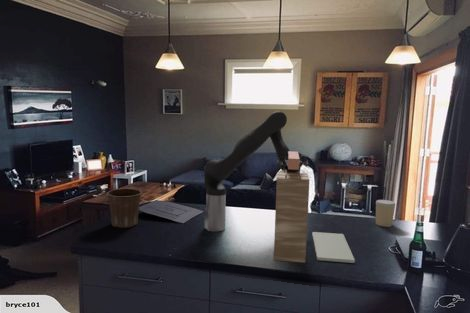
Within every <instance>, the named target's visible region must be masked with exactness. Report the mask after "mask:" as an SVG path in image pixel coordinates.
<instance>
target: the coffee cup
mask: <svg viewBox="0 0 470 313" xmlns="http://www.w3.org/2000/svg"><path fill="white" fill-rule="evenodd" d="M395 208H396V203H395V201H393V200H389V199H377V200H376V201H375V225H378V226H380V227H387V228H388V227H389V228H390V227H393V226H392V225H393V222H394V214H395V210H396V209H395Z"/></svg>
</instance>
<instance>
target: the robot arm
mask: <svg viewBox="0 0 470 313" xmlns="http://www.w3.org/2000/svg"><path fill="white" fill-rule="evenodd" d="M287 121H288V117H287V116H286V114H285V113H284V112H283V111H279V110H278V111H274V112H272V113H270V115H269V116H268V117H267V118H266V119H265V120H264V122H262V123H261V124H259V125H258V126H257V127H255V128H254V129H252V130H251V131H250V132H248V133H247V134H245V135H244V136H242V138H240V139H239V140H238V141H237V142H236V144H235V145H234V147H233V150H232V152H231V153H230V154H229V155H227V156H226V157H224V158H223V159H221V160H218V159H210V160H208V161H207V163H205V165H204V187H205V191H206V194H205V195H206V196H205V197H206V199H205V203H206V204H205V208H204V229H206V231H208V232H222V231H225V230H226V204H227V201H226V198H227V196H226V195H227V188H226V186H224V184H223V182H222V181H224V180H226V179H227V178H228V177H229V176H230V175H231V174H232V173H233V172H234V171H235V170H236V169H237V168H238V167H239V166H240V165H241V164H242V163H243V162H244V161H246V160H247V159H248V158H249V157H251V155H252V154H254V153H255V152H256V151H257V150H259V149H260V147H262V145H264V144H265V142H266V141H268V139H269V138H270V140H271V143H272V145H273V147H274V150H275V153H276V157H277V163H276V165H277V166H279V167H280V170H281V171H283V172H286V170H287V173H299V170H300V171H301V168H302V166H305V167H308V166H309V160H308V159H307V157H306V156H303V155H302V153H300V152H299V151H297V152H298V154H299V158H300V161H299V170H294V169H288V153H289V152H288V151H290V149H289V147H288V145H287V144H286V143H285V141H284V139H283V136H282V129H284V127H285V126H286V124H287V123H288V122H287Z"/></svg>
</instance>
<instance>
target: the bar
mask: <svg viewBox="0 0 470 313" xmlns="http://www.w3.org/2000/svg"><path fill="white" fill-rule="evenodd" d="M288 152H289V153H288V169H294V170H299V161H300V158H299V154H298V152H299V151H288Z"/></svg>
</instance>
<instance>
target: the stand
mask: <svg viewBox="0 0 470 313" xmlns="http://www.w3.org/2000/svg"><path fill="white" fill-rule="evenodd" d="M309 197H310V177H309V174H308V172H307V173H303V172H301V169H300V170H299V173H287V170H286V172H284V171H283V172H282V171H281V172H280V171H277V176H276V192H275V212H274V213H275V215H274V216H275V219H274V220H275V221H274V244H273V261H279V262H292V263H303V264H305V263H306V259H307V258H306V257H307V255H306V254H307V241H308V240H307V237H308V235H307V234H308V220H309V215H308V214H309Z"/></svg>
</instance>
